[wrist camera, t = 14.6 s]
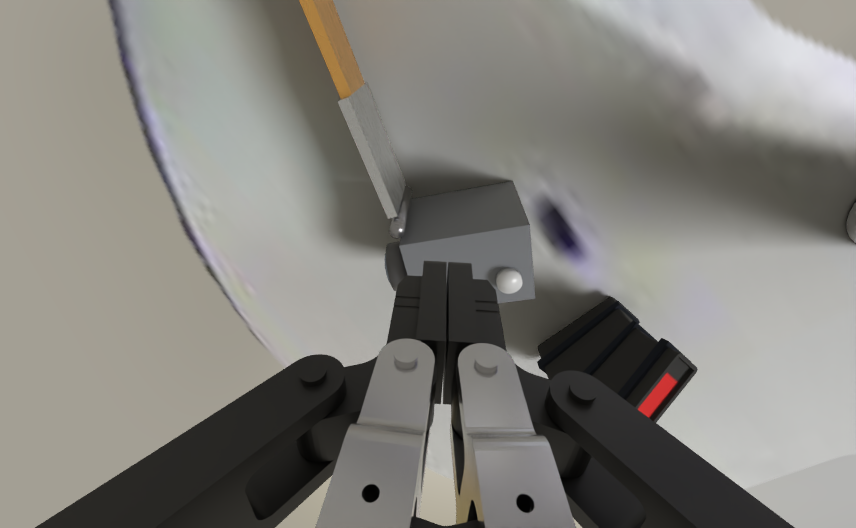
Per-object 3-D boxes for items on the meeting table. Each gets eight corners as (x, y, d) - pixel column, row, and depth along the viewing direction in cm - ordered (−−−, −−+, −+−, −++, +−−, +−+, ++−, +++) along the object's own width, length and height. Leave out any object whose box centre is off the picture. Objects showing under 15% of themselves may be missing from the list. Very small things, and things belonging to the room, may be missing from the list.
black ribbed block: (516, 368, 48) (596, 451, 33) (583, 283, 47) (693, 330, 33) (536, 383, 49) (622, 469, 35) (602, 300, 48) (716, 352, 34)
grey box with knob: (512, 180, 36) (531, 229, 28) (518, 244, 40) (537, 304, 32) (386, 203, 38) (369, 255, 30) (403, 262, 42) (392, 323, 34)
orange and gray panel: (414, 195, 37) (406, 235, 30) (402, 199, 37) (392, 240, 31) (326, -37, 28) (287, -53, 21) (311, -30, 28) (268, -44, 21)
